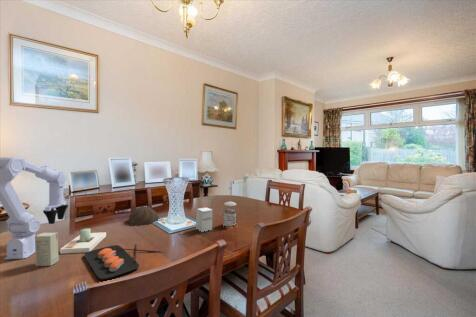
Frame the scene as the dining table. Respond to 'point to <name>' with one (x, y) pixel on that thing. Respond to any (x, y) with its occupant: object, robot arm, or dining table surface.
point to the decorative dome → (143, 216)
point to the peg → (85, 235)
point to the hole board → (83, 244)
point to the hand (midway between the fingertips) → (56, 221)
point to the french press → (231, 211)
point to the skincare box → (46, 249)
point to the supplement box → (204, 219)
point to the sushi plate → (111, 261)
